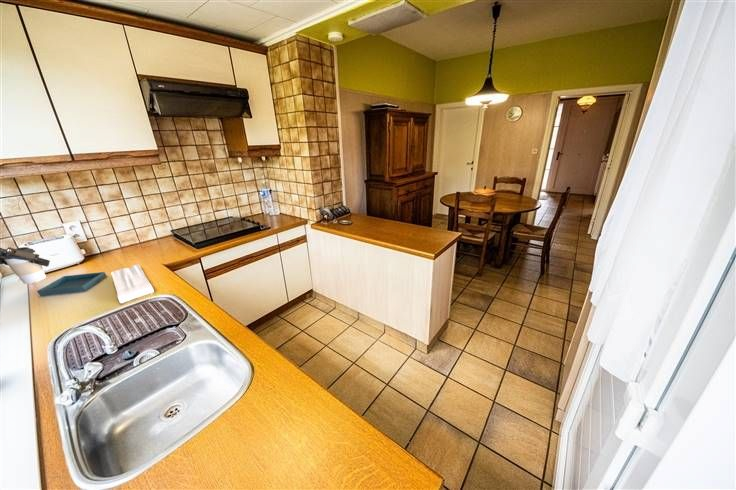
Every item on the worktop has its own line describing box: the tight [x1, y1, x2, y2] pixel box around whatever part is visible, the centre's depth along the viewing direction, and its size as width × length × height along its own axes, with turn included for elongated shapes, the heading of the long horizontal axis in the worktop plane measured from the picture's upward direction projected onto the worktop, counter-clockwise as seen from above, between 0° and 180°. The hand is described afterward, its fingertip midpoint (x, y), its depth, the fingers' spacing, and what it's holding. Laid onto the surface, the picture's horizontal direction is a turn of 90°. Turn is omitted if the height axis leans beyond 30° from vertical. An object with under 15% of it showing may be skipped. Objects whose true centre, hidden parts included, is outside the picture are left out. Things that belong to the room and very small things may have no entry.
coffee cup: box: [3, 246, 47, 285], centre depth 116 cm, size 9×9×15 cm
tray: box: [36, 271, 108, 298], centre depth 136 cm, size 20×15×3 cm
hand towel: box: [110, 263, 155, 304], centre depth 134 cm, size 12×4×40 cm
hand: (35, 264), depth 119 cm, fingers closed on coffee cup, 9 cm apart
